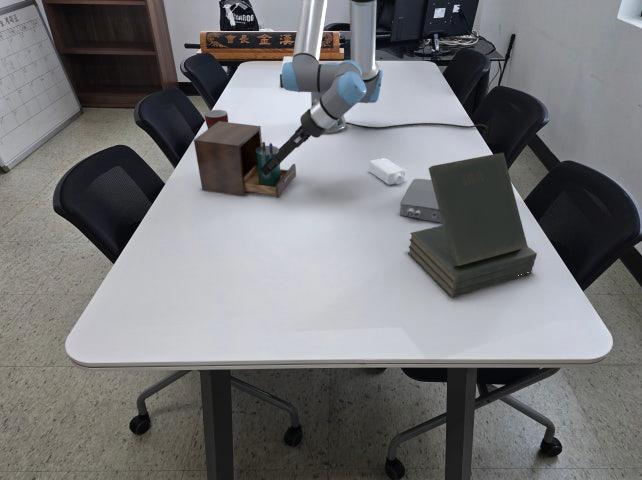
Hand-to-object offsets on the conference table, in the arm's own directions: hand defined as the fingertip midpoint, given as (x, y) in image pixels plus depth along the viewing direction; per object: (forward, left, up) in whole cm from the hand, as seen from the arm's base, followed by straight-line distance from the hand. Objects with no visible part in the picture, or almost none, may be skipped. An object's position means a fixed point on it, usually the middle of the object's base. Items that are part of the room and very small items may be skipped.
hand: (271, 162), depth 149 cm
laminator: (-6, -120, -8) cm, 121 cm away
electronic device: (-49, +17, -8) cm, 53 cm away
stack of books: (-49, +44, -8) cm, 66 cm away
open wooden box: (+13, -5, -8) cm, 16 cm away
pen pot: (+1, -1, -7) cm, 7 cm away
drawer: (+2, -1, -7) cm, 7 cm away
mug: (+22, -38, -8) cm, 45 cm away
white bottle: (-36, -5, -8) cm, 38 cm away
